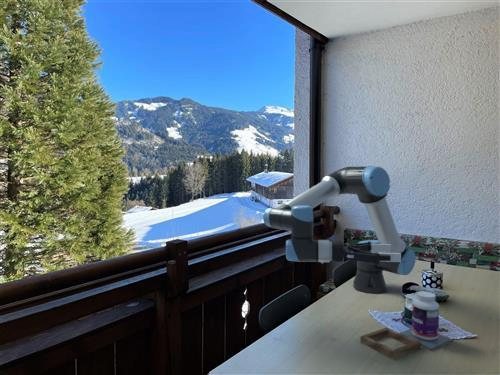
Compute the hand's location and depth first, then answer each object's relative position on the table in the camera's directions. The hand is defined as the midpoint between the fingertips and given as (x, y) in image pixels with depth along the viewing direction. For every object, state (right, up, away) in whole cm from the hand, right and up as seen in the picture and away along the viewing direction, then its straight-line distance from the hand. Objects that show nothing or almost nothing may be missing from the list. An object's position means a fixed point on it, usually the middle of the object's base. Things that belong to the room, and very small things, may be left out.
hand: (395, 252), depth 119 cm
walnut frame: (-4, -29, -5) cm, 30 cm away
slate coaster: (+10, -29, 0) cm, 30 cm away
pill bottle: (+10, -28, 0) cm, 30 cm away
